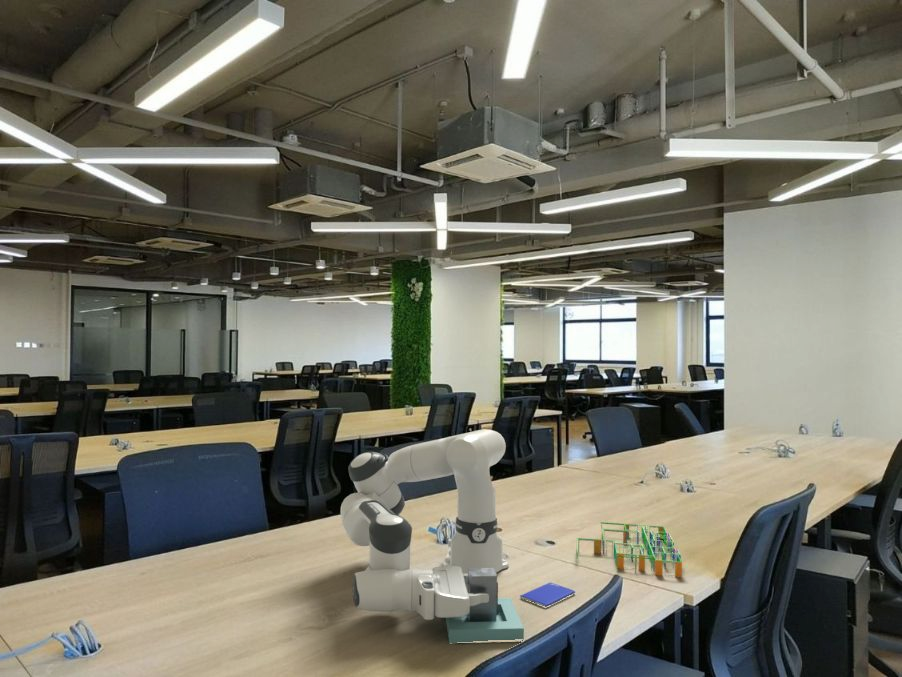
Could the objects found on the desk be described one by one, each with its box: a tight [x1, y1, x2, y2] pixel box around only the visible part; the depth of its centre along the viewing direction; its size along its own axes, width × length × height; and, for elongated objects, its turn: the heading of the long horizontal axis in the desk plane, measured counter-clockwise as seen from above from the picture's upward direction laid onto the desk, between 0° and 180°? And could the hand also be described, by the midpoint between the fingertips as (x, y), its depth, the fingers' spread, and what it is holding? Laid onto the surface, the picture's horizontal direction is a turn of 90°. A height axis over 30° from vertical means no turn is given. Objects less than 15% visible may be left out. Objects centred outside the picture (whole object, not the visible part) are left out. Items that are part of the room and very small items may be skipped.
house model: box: [575, 521, 683, 578], centre depth 190 cm, size 35×30×5 cm
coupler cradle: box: [444, 597, 525, 644], centre depth 138 cm, size 16×16×3 cm
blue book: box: [519, 581, 576, 607], centre depth 155 cm, size 2×8×12 cm
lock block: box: [467, 568, 499, 622], centre depth 138 cm, size 5×6×11 cm
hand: (485, 588), depth 138 cm, fingers open, 8 cm apart
